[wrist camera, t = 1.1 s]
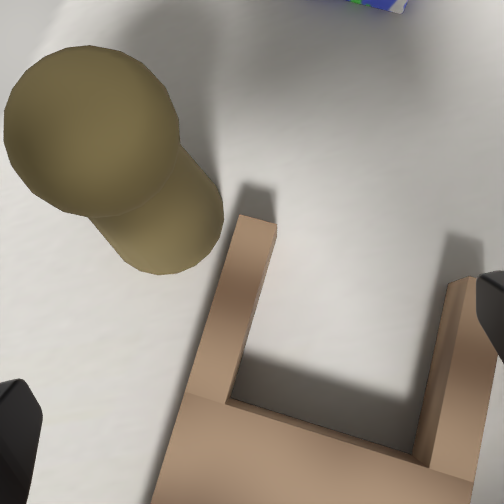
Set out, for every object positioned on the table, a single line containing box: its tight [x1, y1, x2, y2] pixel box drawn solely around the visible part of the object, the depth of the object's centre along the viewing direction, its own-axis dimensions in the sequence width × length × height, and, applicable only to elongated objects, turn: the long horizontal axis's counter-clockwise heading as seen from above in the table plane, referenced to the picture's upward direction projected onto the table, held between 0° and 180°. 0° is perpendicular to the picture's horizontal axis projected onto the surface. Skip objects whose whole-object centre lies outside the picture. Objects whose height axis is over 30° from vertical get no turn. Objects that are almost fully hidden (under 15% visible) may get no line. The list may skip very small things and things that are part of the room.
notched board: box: [150, 214, 498, 504], centre depth 20 cm, size 20×12×2 cm, turn 164°
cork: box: [4, 45, 224, 275], centre depth 18 cm, size 6×6×11 cm
